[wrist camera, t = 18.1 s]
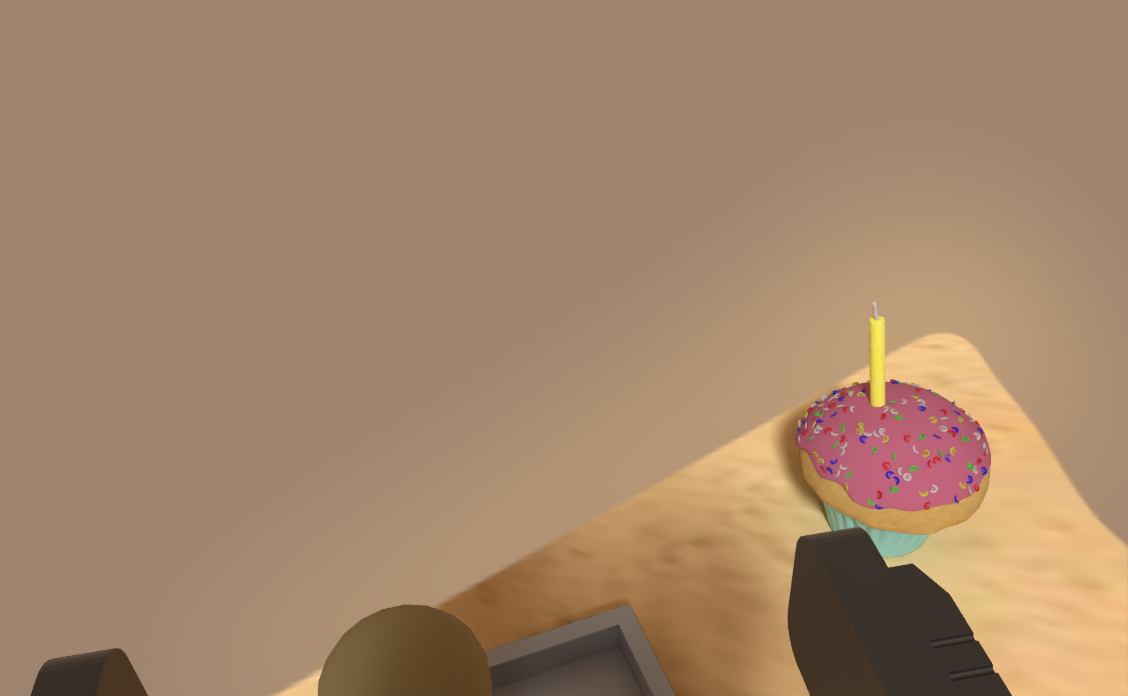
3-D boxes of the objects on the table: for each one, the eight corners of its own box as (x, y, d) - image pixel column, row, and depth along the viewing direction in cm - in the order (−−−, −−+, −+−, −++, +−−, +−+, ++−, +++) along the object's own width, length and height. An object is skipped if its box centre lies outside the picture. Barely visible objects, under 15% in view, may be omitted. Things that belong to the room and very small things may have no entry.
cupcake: (756, 529, 47) (775, 330, 40) (842, 437, 52) (873, 245, 45) (924, 621, 42) (980, 413, 35) (1002, 510, 47) (1064, 307, 40)
